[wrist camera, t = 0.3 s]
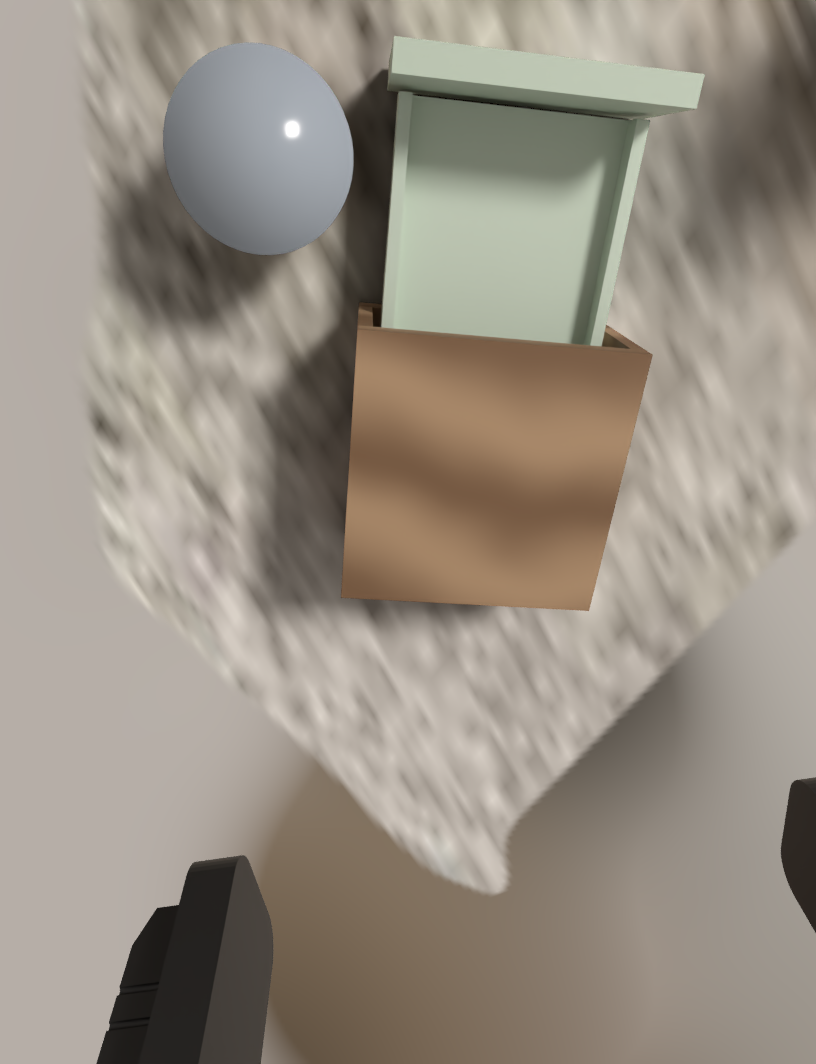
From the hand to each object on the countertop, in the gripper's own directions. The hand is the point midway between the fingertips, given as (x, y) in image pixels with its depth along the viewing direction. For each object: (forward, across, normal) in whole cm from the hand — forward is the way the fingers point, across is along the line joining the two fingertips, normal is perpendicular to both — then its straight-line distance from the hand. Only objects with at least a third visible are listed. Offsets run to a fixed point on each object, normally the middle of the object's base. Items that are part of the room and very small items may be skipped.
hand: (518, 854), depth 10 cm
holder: (+26, -2, +4) cm, 27 cm away
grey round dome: (+23, +4, -10) cm, 25 cm away
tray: (+26, -4, -5) cm, 27 cm away
